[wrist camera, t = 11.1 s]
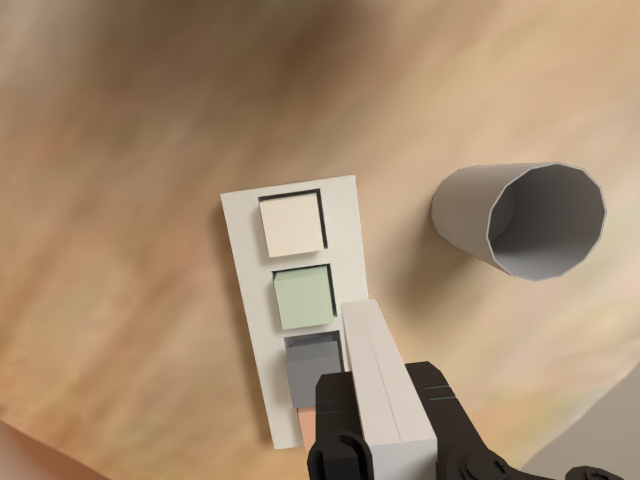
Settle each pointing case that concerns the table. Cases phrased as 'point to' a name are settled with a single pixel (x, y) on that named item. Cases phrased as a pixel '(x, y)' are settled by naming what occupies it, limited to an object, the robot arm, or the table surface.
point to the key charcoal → (309, 367)
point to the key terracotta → (307, 425)
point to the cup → (522, 216)
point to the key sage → (303, 297)
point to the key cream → (292, 225)
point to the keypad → (261, 270)
